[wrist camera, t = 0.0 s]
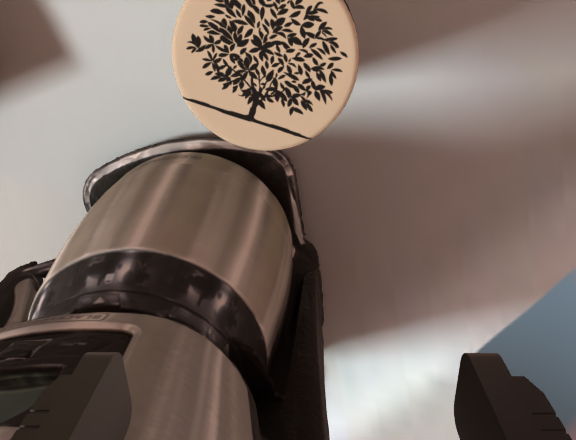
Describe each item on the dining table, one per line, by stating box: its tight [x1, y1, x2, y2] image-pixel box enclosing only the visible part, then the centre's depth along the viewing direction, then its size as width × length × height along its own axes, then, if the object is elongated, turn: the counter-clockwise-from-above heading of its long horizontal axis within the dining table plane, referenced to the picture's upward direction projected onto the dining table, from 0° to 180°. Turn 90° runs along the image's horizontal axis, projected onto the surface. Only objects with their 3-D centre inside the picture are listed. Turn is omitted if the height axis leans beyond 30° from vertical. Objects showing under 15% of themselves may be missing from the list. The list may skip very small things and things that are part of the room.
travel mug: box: [172, 0, 359, 151], centre depth 28 cm, size 8×8×18 cm
